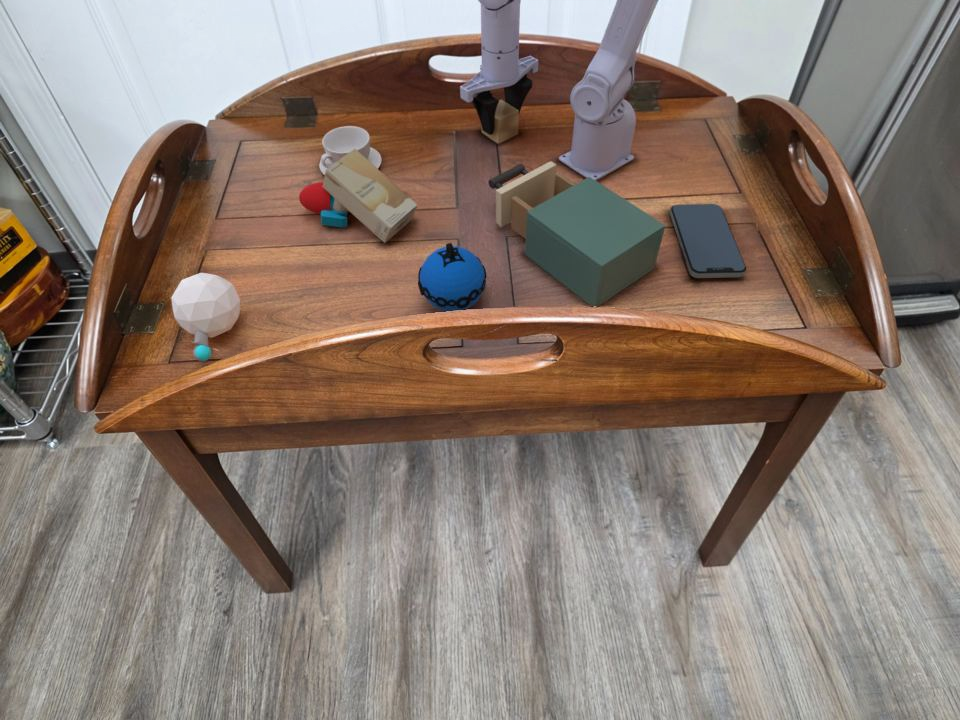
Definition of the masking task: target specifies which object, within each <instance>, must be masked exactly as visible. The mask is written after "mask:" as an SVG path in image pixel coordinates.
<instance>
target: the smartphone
mask: <svg viewBox="0 0 960 720" xmlns="http://www.w3.org/2000/svg"><path fill="white" fill-rule="evenodd" d="M669 216H670V218H671V221H672V225H673V228H674V231H675V234H676V236H677V240H678V243H679V246H680V249H681V252H682V255H683V259H684V261H685V264H686V267H687V270H688V273H689V275H690V276H691V277H693V278H695V279H716V278H719V279H721V278H722V279H723V278H725V279H726V278H741V277H744V276H745V274H746V271H747V266H746V264H745V261H744V259H743V256H742V254H741V252H740V249H739V246H738V245H737V242H736V240H735V237H734V235H733V233H732V230H731V228H730V225H729V222H728V220H727V217H726V216H725V213H724V210H723V209H722V207H721V206H720V205H719V204H716V203H702V204H701V203H695V204H693V203H692V204H689V203H688V204H674V205H671V207H670V210H669Z"/></svg>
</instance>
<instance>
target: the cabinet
mask: <svg viewBox="0 0 960 720" xmlns="http://www.w3.org/2000/svg"><path fill="white" fill-rule="evenodd" d="M576 183H577V182H576ZM665 228H666V225H665V224H664V223H662V222H661V221H659V220H658V219H656V218H654V217H653V216H652V215H650V214H649V213H647V212H646V211H644V210H643V209H641V208H640V207H638V206H636V205H634V203H631V202H630V201H628V200H626V199H625V198H624V197H622V196H620V195H619V194H617V193H616V192H614V191H613V190H611V189H609V188H608V187H607V186H605V185H603V184H602V183H600V182H599V181H598V180H594V179H592V178H591V177H588V178H586V177H585V179H583V180H581V181H579V182H578V183H577V184H575V185H574V186H572V187H570V188H568V189H567V190H565V191H563V192H561V193H559V194H558V195H556V196H554V197H552V198H550V199H549V200H547V201H545V202H543V203H542V204H540V205H538V206H536V207H534V208H533V209H531V210H529V211H527V221H526V239H525V245H524V256H526V257H527V258H529V259H530V260H531V261H532V262H534V263H535V264H536V265H538V266H539V267H540V268H541V269H542V270H544V271H545V272H547V274H549V275H550V276H552V277H553V278H554V279H556V280H557V281H558V282H559V283H560V284H562V285H563V286H564V287H566V288H567V289H569V290H570V291H571V292H572V293H573V294H575V295H576V296H577V297H579V298H580V299H581V300H583V301H584V302H585V303H586V304H588V305H589V306H590V307H591V306H598V307H600V306H601V305H603V303H605V302H607V301H609V300H610V299H612V298H613V297H614V296H616V295H617V294H619V293H620V292H622V291H623V290H625V289H627V287H629V286H631V285H632V284H634V283H636V282H637V281H638V280H640V279H641V278H643V277H644V276H646V275H647V274H648V273H650V272H652V271H653V270H654V269H655V266H656V263H657V260H658V256H659V253H660V248H661V245H662V241H663V237H664V232H665Z"/></svg>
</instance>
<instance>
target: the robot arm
mask: <svg viewBox="0 0 960 720" xmlns="http://www.w3.org/2000/svg"><path fill="white" fill-rule="evenodd" d="M477 1H478V2H479V3H480V39H481V40H480V41H481V42H480V45H481V47H480V48H481V64H480V66H479V72H478V73H476V74H475V75H474V76H473V77H472V78H471V79H469V80H468V81H467V82H466V83H464V84H462V85H460V86H459V93H460V99H461V100H463V101H464V102H466V103H468V104H469V103H472V105H473V106H474V108H475V111H476V113H477V115H478V119H479V122H480V125H481V131H482V130H483V131H484V132H486V133H487V134H489V135H491V134H493V132H494V120H495V112H496V108H497V105H498V102H499V100H500V99H497V98H496V97H494V96H493V93H492V92H491V91H492V90H497V89H498V90H499V89H503V93H504V101H505V102H506V103H508V104H509V105H511V106H513V107H514V108H516V109H517V110H519V114H520V113H521V110H522V107H523V104H524V103H525V99H526V97H527V96H528V94H529V93H530V91H531V89H532V88H533V80H532V79H531V78H529V77H528V74H529V73H531V74H535V73H538V72H539V59H537V58H536V57H534V56H532V55H529V56H526V57H521V58H520V27H521V26H520V25H521V23H520V21H521V19H520V18H521V1H522V0H477ZM658 2H659V0H616V2H615V5H614V8H613V9H612V13H611V15H610V18H609V21H608V23H607V26H606V28H605V31H604V34H603V36H602V39H601V41H600V45H599V47H598V49H597V51H596V53H595V55H594V56H593V58H592V60H591V61H590V63H589V65H588V67H587V68H586V69H585V73H584V76H583V77H582V79H581V80H580V81H579V82H577V83H576V84H575V85H574V87H573V88H572V89H571V92H570V96H569V101H570V106H571V109H572V111H573V112H574V121H573V130H572V139H571V140H572V141H571V148H570V149H571V150H569V151H567V152H566V153H564V154H562V155H560V156H558V161H559V162H561V163H563V164H564V165H565V166H567V167H568V168H570V169H571V170H573V171H575V172H576V173H578V174H579V175H581V176H582V177H584V178H585V179H586V178H588V177H591V178H592V179H594V180H596V181H599V180H601V179H602V178H604V177H605V176H607V175H609V174H611V173H612V172H614V171H616V170H617V169H620V168H621V167H624V166H625V165H627V164H628V163H630V162H632V161H634V159H635V156H634V155H633V154H631V151H632V146H633V141H634V134H635V130H636V125H637V117H636V116H637V115H636V112H635V110H634V107H633V106H632V104H631V103H630V102H629V101H628V100H626V99H625V95H626V94H627V93H628V92H629V91H630V90H631V88H632V87H633V85H634V82H635V65H636V62H637V60H638V57H639V55H638V53H637V51H638V49H639V47H640V44H641V42H642V40H643V37H644V36H645V35H644V34H645V33H646V31H647V28H648V25H649V23H650V21H651V19H652V16H653V15H654V12H655V9H656V7H657V5H658Z"/></svg>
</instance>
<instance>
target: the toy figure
mask: <svg viewBox="0 0 960 720" xmlns="http://www.w3.org/2000/svg"><path fill="white" fill-rule="evenodd" d="M323 182H324V181H319V182H315V183H311V184H309V185H307V186H305V187H304V188H302V190H301V191H300V192H299V195H298V200H299V202H300V204H301V205H302V206H303V208H305V209H306V210H307V211H309V212H311V213H314V214H317V215H320V223H321V225H322V226H327V227H328V226H329V227H334V228H335V227H336V228H346V227H348V213H351V212H350V211H349V210H347V209H346V208H345V207H344V206H343V205H342V204H341V203H340V202H339V201H338V200H336V199H335V198H334V197H333V196H332V195H331V194H330V193H329V192H328V191H326V190H325V189H324V188H323Z"/></svg>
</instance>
